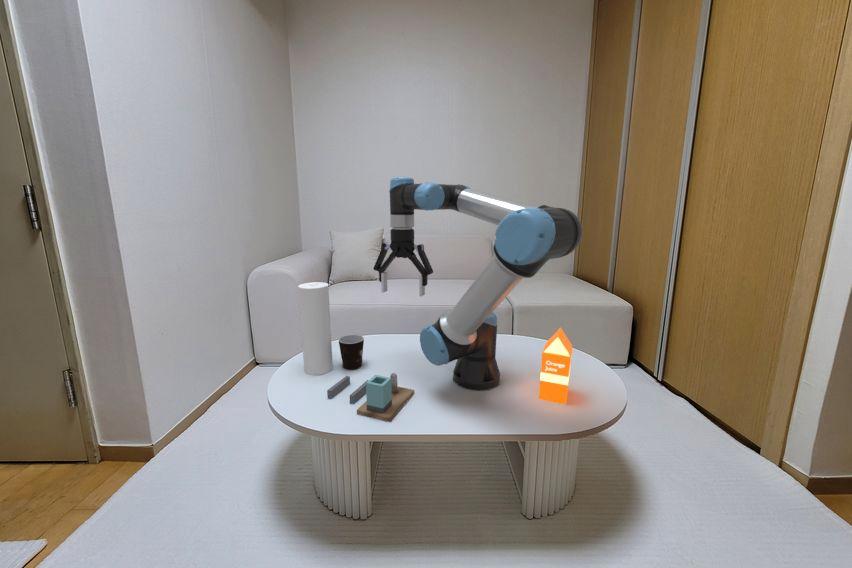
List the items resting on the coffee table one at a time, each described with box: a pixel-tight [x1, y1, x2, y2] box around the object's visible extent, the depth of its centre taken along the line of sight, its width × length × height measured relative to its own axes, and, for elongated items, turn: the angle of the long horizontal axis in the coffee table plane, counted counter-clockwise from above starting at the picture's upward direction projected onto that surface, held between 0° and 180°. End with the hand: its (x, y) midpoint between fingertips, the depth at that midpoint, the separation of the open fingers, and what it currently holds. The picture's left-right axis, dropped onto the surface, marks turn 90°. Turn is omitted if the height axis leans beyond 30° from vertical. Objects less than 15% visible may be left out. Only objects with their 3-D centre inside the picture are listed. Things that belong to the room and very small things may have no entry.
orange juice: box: [538, 327, 573, 405], centre depth 109 cm, size 8×9×20 cm
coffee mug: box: [338, 334, 365, 371], centre depth 128 cm, size 12×9×10 cm
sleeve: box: [365, 374, 392, 414], centre depth 101 cm, size 5×5×8 cm
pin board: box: [356, 372, 415, 423], centre depth 106 cm, size 10×16×7 cm, turn 158°
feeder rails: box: [326, 375, 370, 405], centre depth 112 cm, size 9×10×2 cm
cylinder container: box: [297, 281, 334, 376], centre depth 125 cm, size 9×9×30 cm
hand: (402, 293), depth 122 cm, fingers open, 13 cm apart
